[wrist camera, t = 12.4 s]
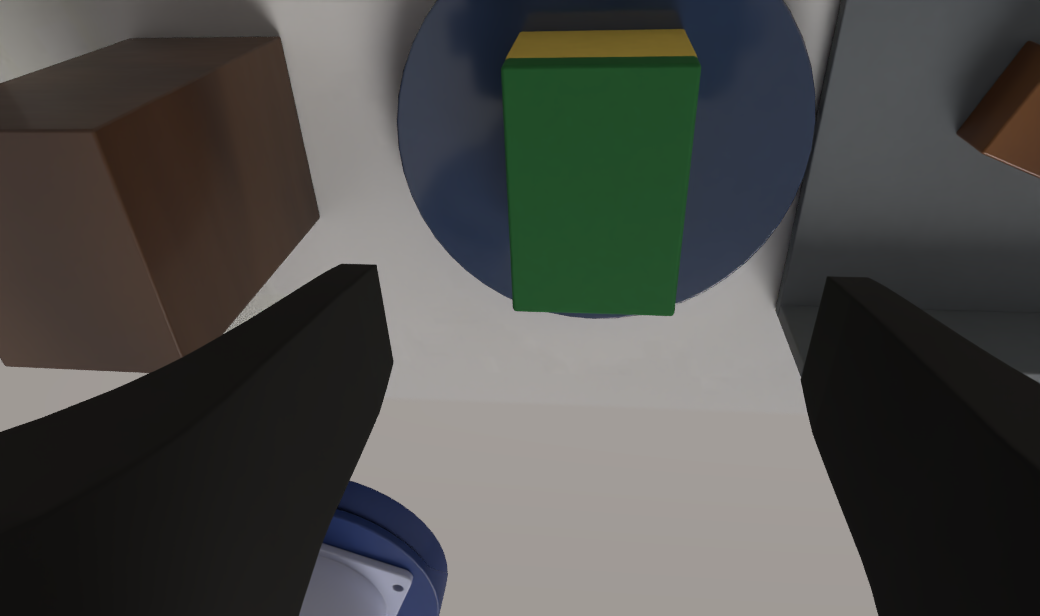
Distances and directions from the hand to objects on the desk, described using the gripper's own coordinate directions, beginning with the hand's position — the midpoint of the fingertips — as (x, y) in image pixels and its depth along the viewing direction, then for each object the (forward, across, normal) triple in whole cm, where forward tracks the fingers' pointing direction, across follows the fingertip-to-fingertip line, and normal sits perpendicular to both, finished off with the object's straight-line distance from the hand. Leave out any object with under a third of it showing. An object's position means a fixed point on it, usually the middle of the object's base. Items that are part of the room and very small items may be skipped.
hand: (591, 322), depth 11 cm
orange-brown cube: (+9, -11, -1) cm, 14 cm away
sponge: (+8, 0, 0) cm, 8 cm away
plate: (+9, 0, 0) cm, 9 cm away
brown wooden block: (+9, +11, 0) cm, 14 cm away
